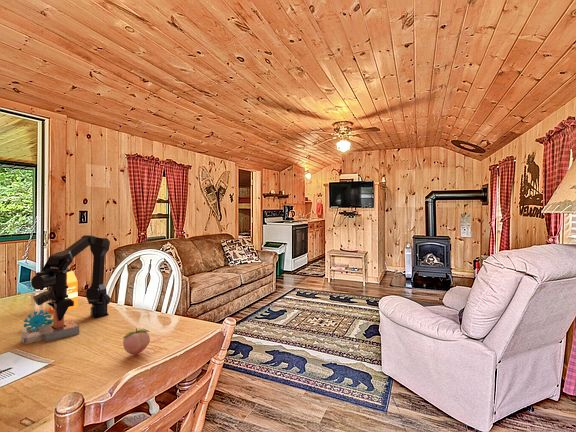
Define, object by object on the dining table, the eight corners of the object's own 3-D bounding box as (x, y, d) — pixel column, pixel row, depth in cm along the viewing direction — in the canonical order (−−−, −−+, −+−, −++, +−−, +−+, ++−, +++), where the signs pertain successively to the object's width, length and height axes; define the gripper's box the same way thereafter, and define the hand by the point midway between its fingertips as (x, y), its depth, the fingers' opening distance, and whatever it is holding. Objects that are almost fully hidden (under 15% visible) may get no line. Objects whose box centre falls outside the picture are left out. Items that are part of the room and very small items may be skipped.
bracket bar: (39, 337, 132) (39, 325, 132) (42, 339, 130) (42, 327, 130) (21, 341, 127) (21, 329, 127) (24, 344, 125) (24, 332, 125)
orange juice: (51, 310, 166) (51, 272, 166) (67, 305, 175) (67, 269, 174) (62, 312, 164) (62, 274, 164) (77, 307, 173) (78, 270, 172)
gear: (18, 330, 135) (28, 308, 142) (21, 336, 139) (30, 315, 146) (49, 330, 139) (57, 310, 146) (51, 336, 143) (58, 316, 150)
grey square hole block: (69, 327, 144) (69, 319, 144) (79, 333, 136) (79, 325, 136) (37, 334, 135) (37, 326, 135) (45, 342, 127) (45, 334, 127)
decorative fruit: (142, 347, 125) (143, 322, 125) (153, 353, 120) (153, 327, 120) (118, 355, 118) (118, 328, 118) (127, 362, 113) (128, 334, 112)
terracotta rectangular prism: (61, 324, 138) (61, 304, 137) (63, 326, 136) (63, 305, 136) (53, 326, 135) (53, 306, 135) (55, 328, 133) (55, 307, 133)
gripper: (29, 283, 135) (29, 319, 135) (41, 291, 123) (41, 330, 123) (60, 279, 143) (60, 313, 144) (74, 286, 132) (74, 323, 132)
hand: (58, 319), depth 135 cm, fingers closed on terracotta rectangular prism, 3 cm apart
